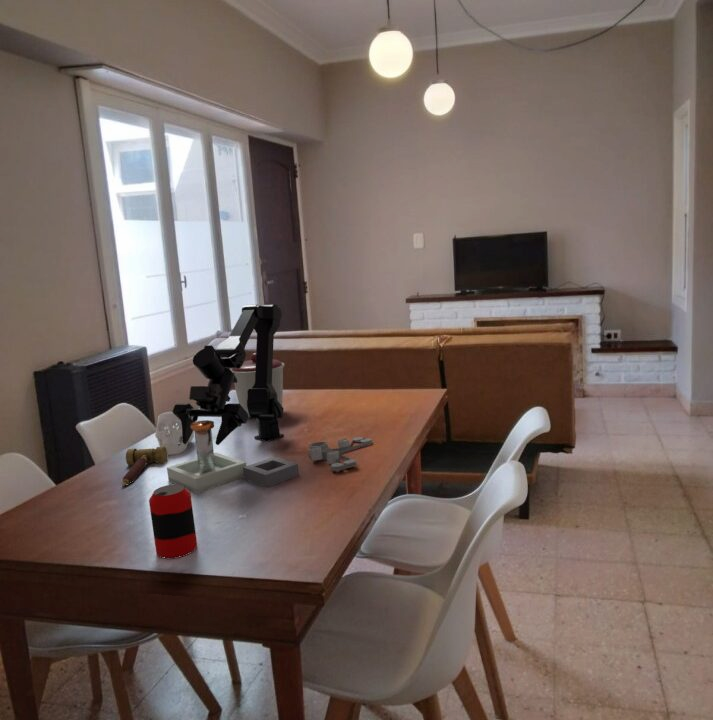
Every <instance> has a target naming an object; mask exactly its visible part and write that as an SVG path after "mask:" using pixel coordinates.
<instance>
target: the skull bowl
mask: <svg viewBox="0 0 713 720" xmlns="http://www.w3.org/2000/svg"><path fill="white" fill-rule="evenodd" d="M155 438H156V439H157V442H158V447H165V448H166V449H167V456H170V455H171V456H175V455H179V454H181V453H182V452H184V451H186V450H187V447H188V444H190V443H192V441H193V438H195V431H193V432H192V434H191V436H190V438H189V440H188V442H187V443H186V444H184V443H183V440H182V424H181V420H180V419H179V418H178V417H177V416H176V415H175V414H174V413H173V412H172V411H166V412H162V413H161V414H159V415H158V416H157V424H156V428H155Z"/></svg>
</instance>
